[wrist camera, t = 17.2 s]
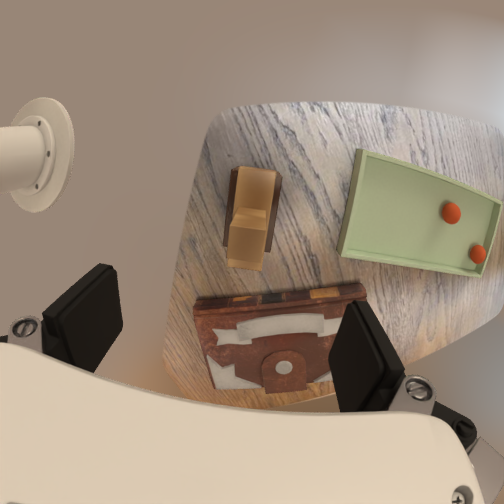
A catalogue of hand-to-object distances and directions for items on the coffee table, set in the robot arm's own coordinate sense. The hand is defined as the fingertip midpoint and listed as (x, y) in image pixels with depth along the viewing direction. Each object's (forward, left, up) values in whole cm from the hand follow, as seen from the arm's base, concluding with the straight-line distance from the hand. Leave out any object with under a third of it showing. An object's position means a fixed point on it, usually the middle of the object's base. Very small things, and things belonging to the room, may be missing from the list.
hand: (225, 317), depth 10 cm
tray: (+25, +2, -24) cm, 35 cm away
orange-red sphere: (+36, -1, -22) cm, 42 cm away
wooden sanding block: (0, 0, -18) cm, 18 cm away
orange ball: (+27, +4, -22) cm, 35 cm away
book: (+7, -19, -24) cm, 32 cm away
